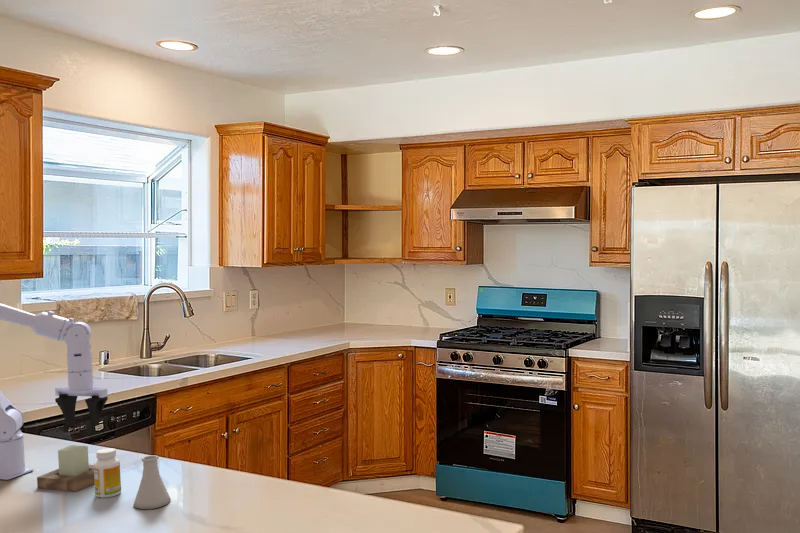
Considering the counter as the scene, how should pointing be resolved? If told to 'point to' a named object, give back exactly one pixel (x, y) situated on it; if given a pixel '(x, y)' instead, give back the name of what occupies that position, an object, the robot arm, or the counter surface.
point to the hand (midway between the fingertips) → (82, 425)
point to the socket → (66, 480)
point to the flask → (151, 486)
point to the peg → (73, 460)
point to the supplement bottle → (107, 473)
